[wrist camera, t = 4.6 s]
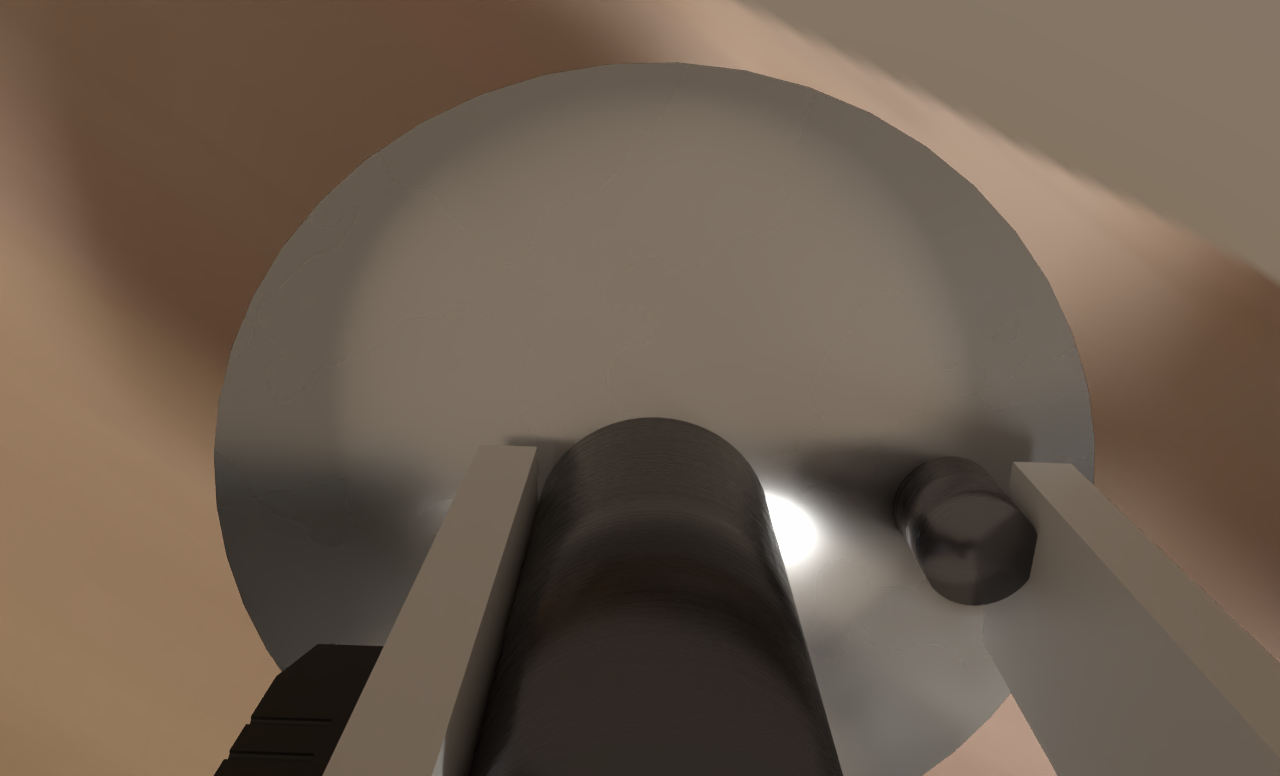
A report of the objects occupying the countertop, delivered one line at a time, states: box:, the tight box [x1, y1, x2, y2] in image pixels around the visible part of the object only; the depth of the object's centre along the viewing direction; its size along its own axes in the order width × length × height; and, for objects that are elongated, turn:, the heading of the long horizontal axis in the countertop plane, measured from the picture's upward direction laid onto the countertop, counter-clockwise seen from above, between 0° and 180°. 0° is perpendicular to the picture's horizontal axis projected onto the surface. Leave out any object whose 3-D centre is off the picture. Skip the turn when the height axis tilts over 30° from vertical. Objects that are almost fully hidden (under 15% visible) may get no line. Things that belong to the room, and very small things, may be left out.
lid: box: [214, 63, 1095, 776], centre depth 10 cm, size 12×12×7 cm
